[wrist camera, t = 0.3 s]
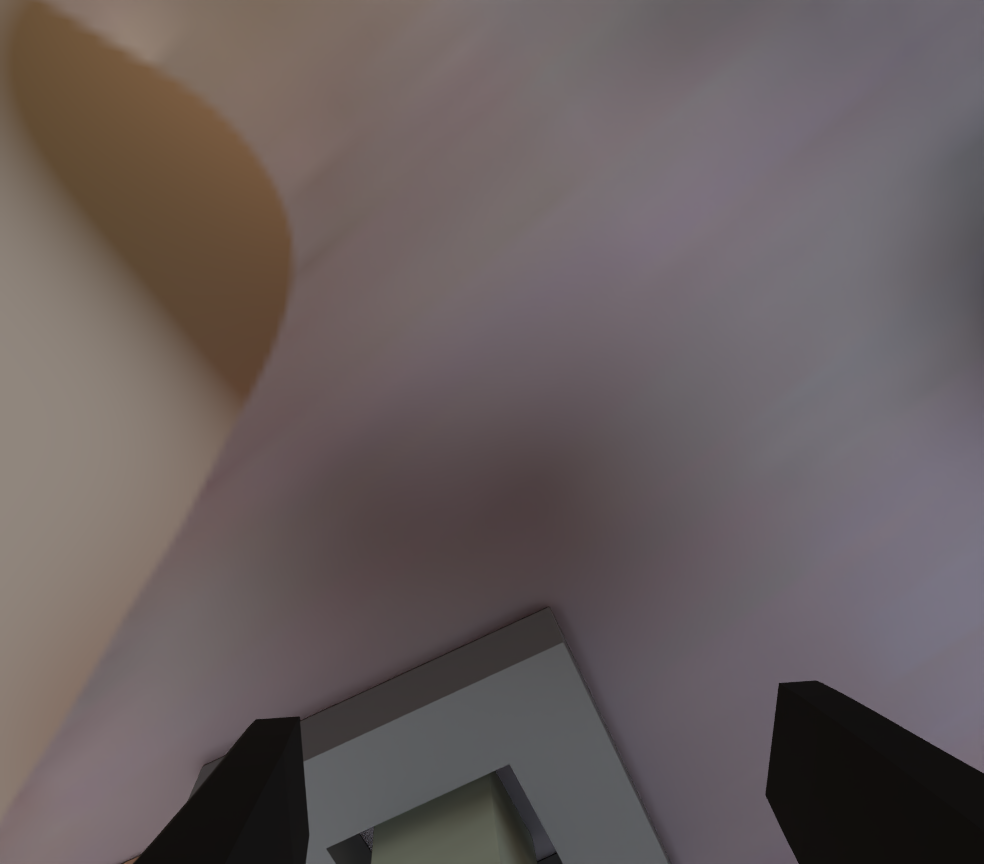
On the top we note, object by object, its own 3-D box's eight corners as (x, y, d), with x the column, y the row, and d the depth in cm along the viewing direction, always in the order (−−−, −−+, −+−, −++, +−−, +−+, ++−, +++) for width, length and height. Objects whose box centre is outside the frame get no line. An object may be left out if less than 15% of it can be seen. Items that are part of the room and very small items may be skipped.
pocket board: (674, 871, 23) (697, 924, 21) (375, 1008, 23) (371, 1074, 22) (549, 606, 20) (563, 641, 18) (202, 766, 20) (180, 818, 18)
